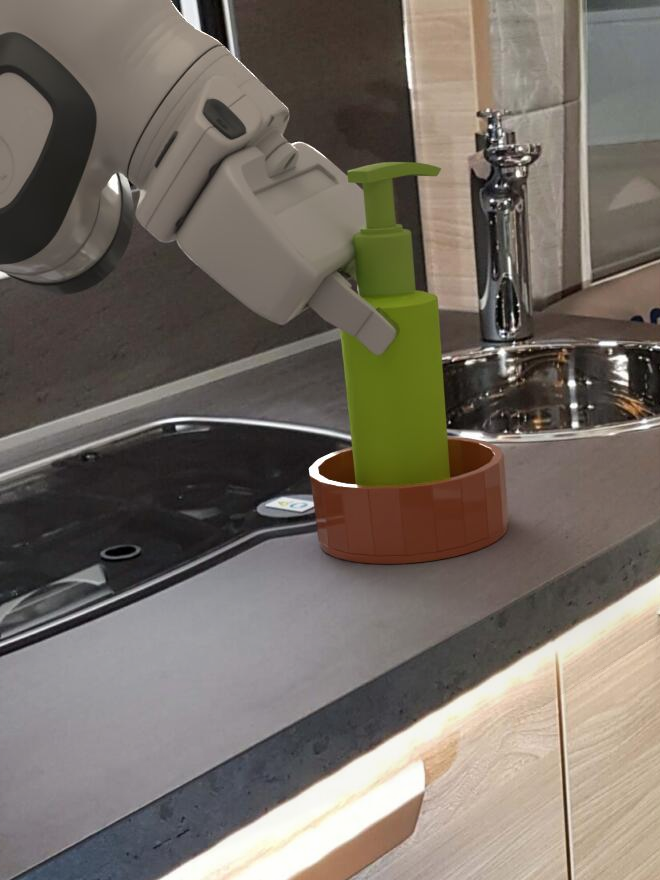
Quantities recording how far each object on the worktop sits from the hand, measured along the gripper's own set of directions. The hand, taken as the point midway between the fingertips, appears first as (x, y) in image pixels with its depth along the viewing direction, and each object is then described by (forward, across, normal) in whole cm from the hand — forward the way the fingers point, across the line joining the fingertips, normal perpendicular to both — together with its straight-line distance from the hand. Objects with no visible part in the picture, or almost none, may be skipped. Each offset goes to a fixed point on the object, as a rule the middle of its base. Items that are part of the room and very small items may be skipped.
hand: (404, 331), depth 91 cm
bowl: (+8, 0, -9) cm, 12 cm away
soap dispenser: (+8, 0, -9) cm, 12 cm away
